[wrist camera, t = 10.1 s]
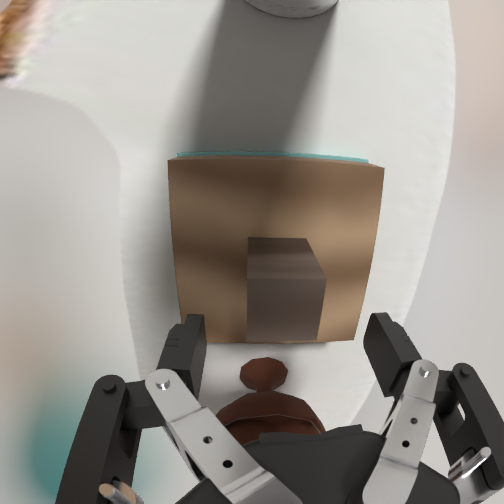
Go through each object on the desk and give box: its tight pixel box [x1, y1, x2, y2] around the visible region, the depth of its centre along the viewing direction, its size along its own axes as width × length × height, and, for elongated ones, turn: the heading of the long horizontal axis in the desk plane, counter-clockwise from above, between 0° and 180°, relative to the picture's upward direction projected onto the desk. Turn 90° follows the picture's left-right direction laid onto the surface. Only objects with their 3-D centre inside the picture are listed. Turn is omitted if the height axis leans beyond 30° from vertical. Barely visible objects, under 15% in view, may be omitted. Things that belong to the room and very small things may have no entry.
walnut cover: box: [168, 155, 385, 343], centre depth 19 cm, size 15×15×10 cm
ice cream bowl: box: [215, 357, 326, 445], centre depth 24 cm, size 11×11×15 cm
